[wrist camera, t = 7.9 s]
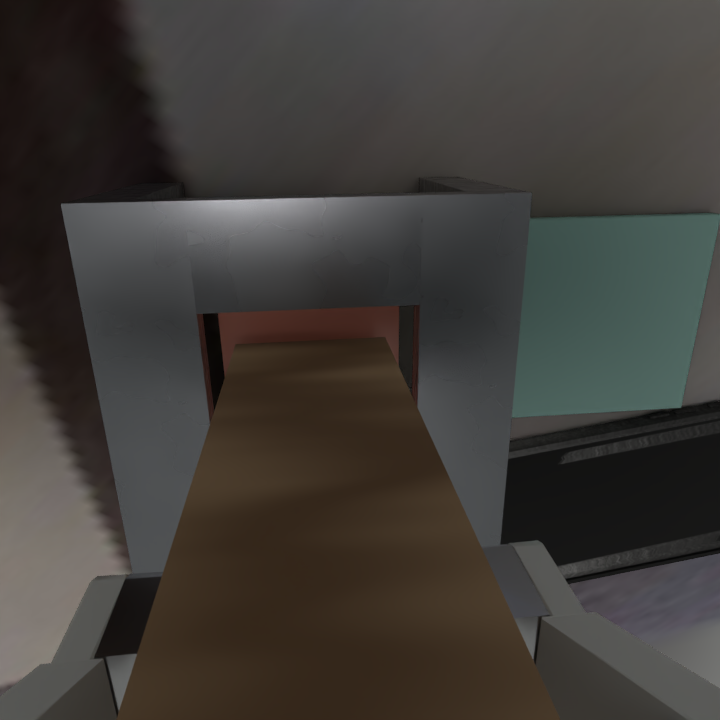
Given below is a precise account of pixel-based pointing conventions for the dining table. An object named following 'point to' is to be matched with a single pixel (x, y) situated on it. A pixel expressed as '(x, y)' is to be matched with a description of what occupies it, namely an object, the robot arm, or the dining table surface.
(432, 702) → the peg
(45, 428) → the dining table surface
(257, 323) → the salmon pink panel
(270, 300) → the frame
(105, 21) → the dining table surface
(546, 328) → the mat
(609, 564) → the phone
